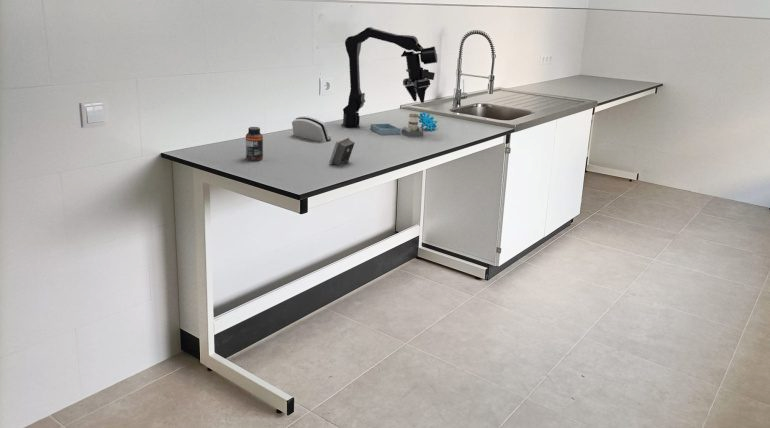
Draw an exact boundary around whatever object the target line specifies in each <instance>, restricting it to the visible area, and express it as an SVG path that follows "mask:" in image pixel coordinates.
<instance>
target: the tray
mask: <svg viewBox="0 0 770 428" xmlns="http://www.w3.org/2000/svg"><path fill="white" fill-rule="evenodd" d="M370 130H371V131H372V132H374V133H375V134H378V135H379V136H393V135H394V136H395V135H398V136H399V135H400V134H401V129H400V128H399V127H397V126H395V125H392V124H391V123H373V124H372V123H370Z"/></svg>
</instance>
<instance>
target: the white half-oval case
mask: <svg viewBox="0 0 770 428" xmlns="http://www.w3.org/2000/svg"><path fill="white" fill-rule="evenodd" d="M291 126H292V134H293V136H295V137H300V138H304V139H309V140H312V141H316V142H322V143H327V141H332V138H331V136H330V135H329V133H328V129H327V125H326V124H325V122H323V121H321V120H319V119H317V118H314V117H312V116H311V117H310V116H298V117H296V118H295V119H293V120H292V122H291Z"/></svg>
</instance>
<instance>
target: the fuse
mask: <svg viewBox="0 0 770 428" xmlns="http://www.w3.org/2000/svg"><path fill="white" fill-rule="evenodd" d="M419 116H420V114H418V113H409V115H408V126H407V127H408V128H411V130H410V131H417V127H419V126H418V125H419V118H418V117H419Z"/></svg>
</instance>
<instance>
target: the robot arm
mask: <svg viewBox="0 0 770 428" xmlns="http://www.w3.org/2000/svg"><path fill="white" fill-rule="evenodd" d="M370 38H373V39H376V40H380V41H384V42H386V43H392V44H395V45H397V46H398V47H400V48H402V49H404V50H403V52H402V53H401V55H400V57H401V58H403V57H405V60H406V67H407V68H406V70H405V71H406V72H407V74H408V77H407V78H404V79H403V81H402V85H403V86H404V88H405V89H406V91H407V92H408V94H409V95H410V97H411V99H412V101H414V102H417V97H418V99H419V101H420V103H421V104H422V103H423V104H424V102H425V97H426V91H427V89H428V88H429V87H430V86H431V81H434V80H435V72H432V71H429V69H426V68H424V67H423V66H421V63H423V65H429V64H437V63H438V54H437V50H436V46H431V47H425V48H424V47H423V46H422V45H421V44H420V43H419V40H418V38H417V37H416V36H415V35H407V34H405V35H404V34H397V33H393V32H389V31H384V30H381V29H376V28H374V27H372V26H370V27H366V28H365V29H364V30H362V31H360V32H359V33H357V34H355V35H350V36H347V38H346V39H345V41H344V45H345V50H346V53H347V56H348V64H349V66H348V67H349V80H350V81H349V82H350V84H349V85H350V87H349V88H350V92H349V96H348V101H347V102H348V103H347V105H346V106H345V107H344V108H343V109H342V111H343V119H342V123H341V126H343V127H345V128H346V129H348V128H349V129H351V128H360V127H361V126H360V113H359V111H360V109H362V108H363V107H364V105H365V103H366V99H365V97H366V96H365V95H366V93H365V92H362V90H361V78H360V77H361V75H360V54H361V49H362V43H364V42H365V41H367V40H368V39H370Z"/></svg>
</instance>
